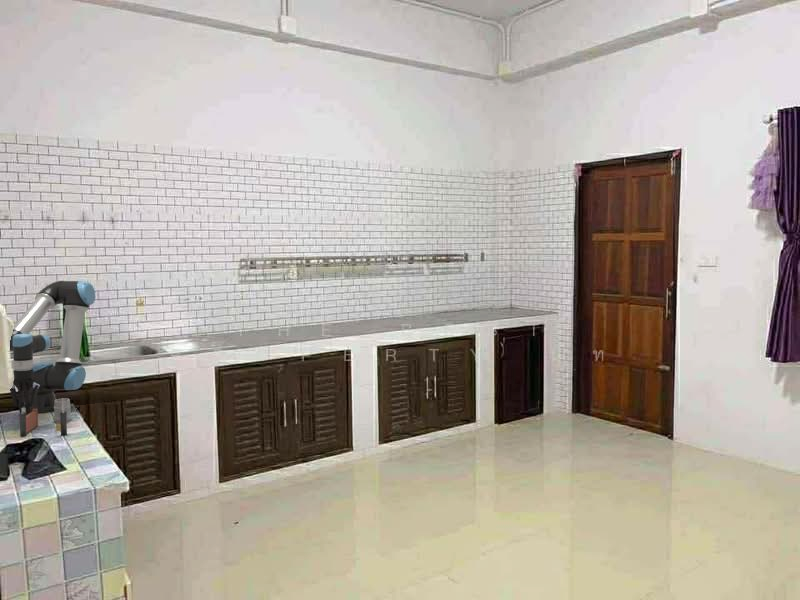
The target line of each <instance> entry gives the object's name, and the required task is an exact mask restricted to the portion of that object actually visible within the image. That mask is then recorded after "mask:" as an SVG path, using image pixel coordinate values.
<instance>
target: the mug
mask: <svg viewBox="0 0 800 600" xmlns="http://www.w3.org/2000/svg"><path fill="white" fill-rule="evenodd" d="M71 407H72V406H71V401H70V399H69V398H63V397H62V398H58V399H57V398H56V400H55V401H54V412H53V413H54V415H53V421H54V423H55V424H56V423H60V412H61V411H66V412H67V423H68V422H71V421H72V418H73V416H72V414H71Z"/></svg>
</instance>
